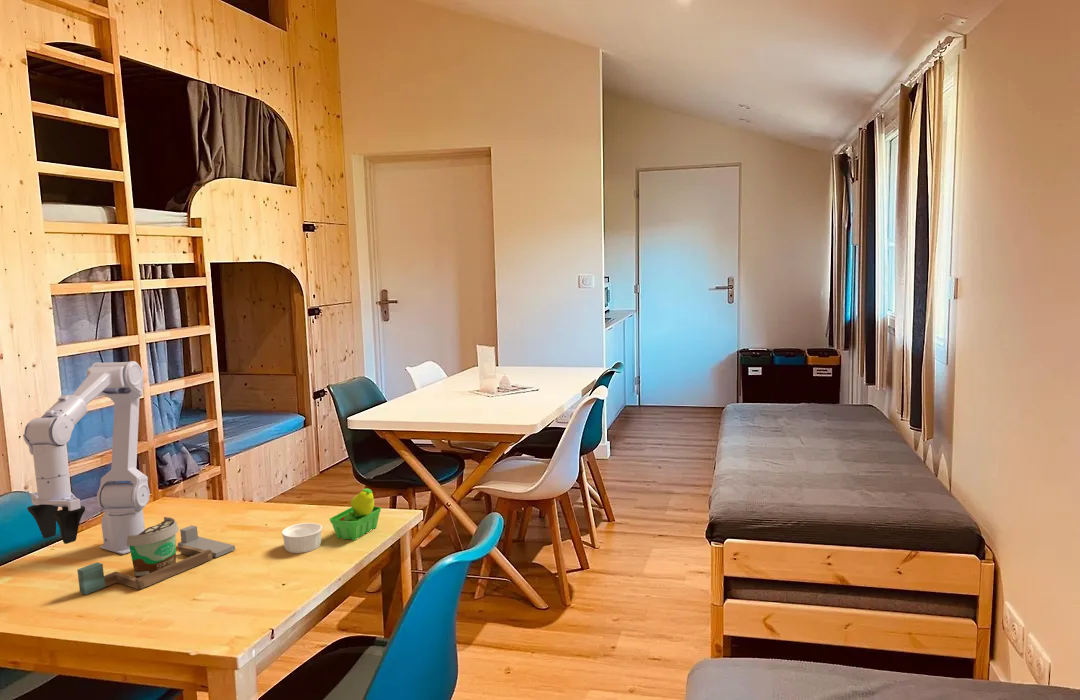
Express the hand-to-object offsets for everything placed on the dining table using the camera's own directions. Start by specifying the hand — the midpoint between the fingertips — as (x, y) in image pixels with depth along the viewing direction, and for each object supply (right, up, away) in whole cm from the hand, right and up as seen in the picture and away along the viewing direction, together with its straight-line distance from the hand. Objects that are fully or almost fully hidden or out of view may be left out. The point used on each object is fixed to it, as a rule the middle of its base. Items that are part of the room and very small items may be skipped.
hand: (59, 539), depth 155 cm
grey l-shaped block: (+22, -7, +20) cm, 30 cm away
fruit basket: (+56, -5, +26) cm, 62 cm away
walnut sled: (+15, -9, +6) cm, 19 cm away
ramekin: (+44, -7, +19) cm, 49 cm away
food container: (+17, -9, +9) cm, 21 cm away
